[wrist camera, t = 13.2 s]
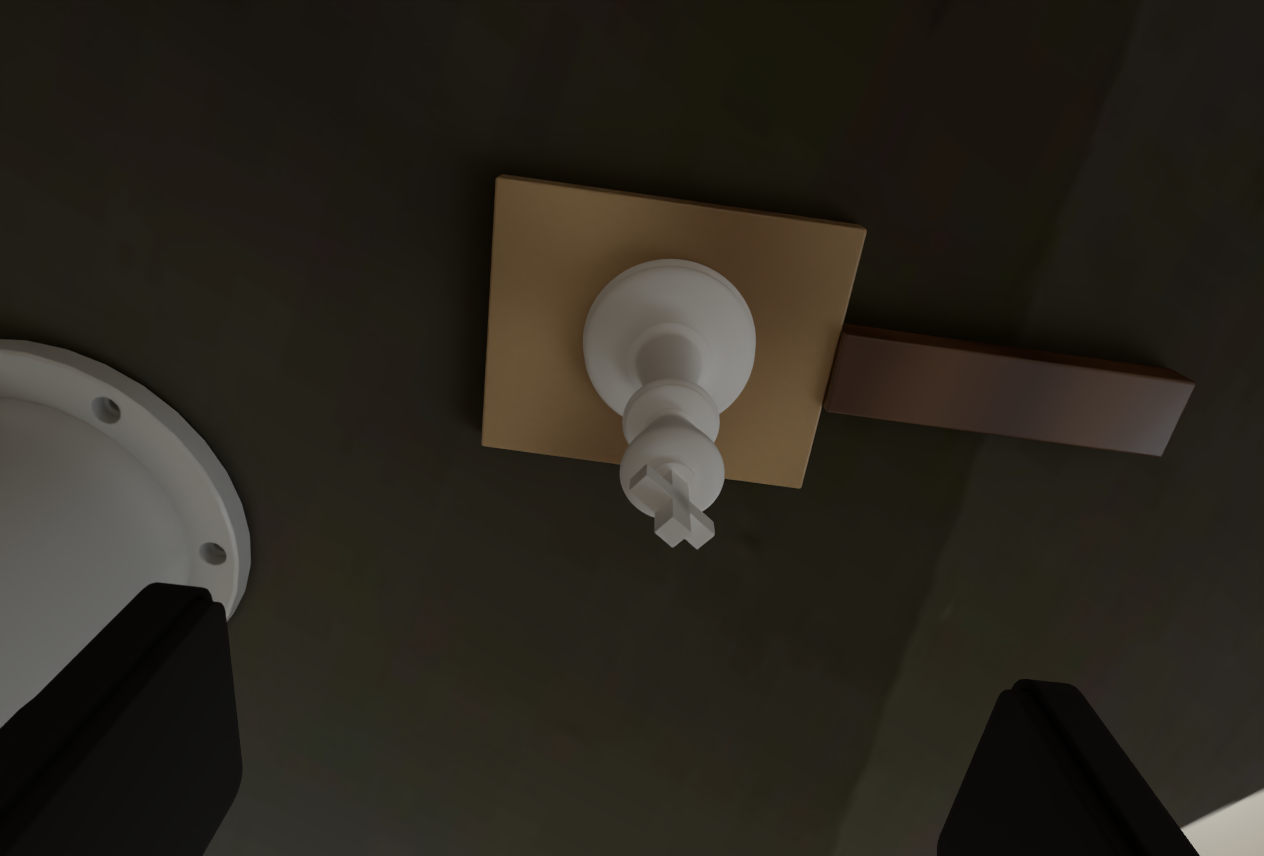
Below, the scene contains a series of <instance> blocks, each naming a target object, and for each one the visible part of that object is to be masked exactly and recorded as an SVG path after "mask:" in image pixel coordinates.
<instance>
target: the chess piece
mask: <svg viewBox="0 0 1264 856" xmlns="http://www.w3.org/2000/svg"><path fill="white" fill-rule="evenodd" d="M755 349H756V333H755V326H754V322H753V318H752V315H751V312H750V310H749V307H748V305H747V303H746V302H745V300H744V298H743V297H742V295H741V294H740V293H739V291H738V290H737V289H736V288H735V287H734V286H733V284H732V283H730V282H729V281H728V280H727V279H726V278H725V277H723V276H722V275H721V274H719V273H718V272H716V271H714V270H712V269H711V268H709V267H706V266H704V265H702V264H699V263H696V262H692V261H687V260H681V259H659V260H653V261H648V262H645V263H641V264H639V265H636V266H634V267H631V268H629V269H627V270H626V271H624V272H622V273H621V274H619V275H618V276H616V277H615V278H614V279H613V280H611V281H610V282H609V283H608V284H607V285H606V286H605V287H604V288H603V290H602V291H601V292H600V293H599V295H598V296H597V297H596V299H595V301H594V302H593V304H592V306H591V308H590V310H589V313H588V315H587V318H586V322H585V326H584V332H583V353H584V359H585V365H586V369H587V372H588V375H589V378H590V380H591V382H592V384H593V386H594V388H595V390H596V391H597V393H598V394H599V396H600V397H601V398H602V399H603V401H604V402H605V403H606V404H607V405H608V406H609V407H610V408H611V409H613V410H614V411H615V412H616V413H618V414H619V415H621V416H622V417H623V419H622V426H623V432H624V436H625V438H626V441H627V442H628V444H629V446H628V447H627V449H626V451H625V453H624V455H623V457H622V460H621V464H620V481H621V485H622V488H623V491H624V493H625V494H626V496H627V498H628V499H629V500H630V502H631V503H632V504H633V505H634V506H635V507H636V508H638V509H639V510H640V511H642V512H644V513H645V514H647V515H649V516H652V517H655V531H654V532H655V533H656V534H657V535H658V536H659V537H661V538H662V539H663V540H664V541H665V542H666V543H668V544H669V545H670V546H671V547H672V548H673V547H675V546H676V545H677V544H678V543H679V542H681V541H682V540H683V539H686V540H687V541H688V542H689V543H690V544H691V545H693V546H694V547H695V548H696V549H698V548H700V547H701V546H702V545H703V544H704V543H706V542H707V541H708V540H709V539H711V538H712V537H713V536H714V535H715V531H714V522H713V521H712V520H711V519H710V518H708V517H707V516H706V515H705V514H704V513H703V512H702V511H704V510H705V509H707V508H708V507H709V506H710V505H711V504H712V503H713V502H714V501H715V499H716V498H717V497H718V495H719V493H720V491H721V489H722V486H723V483H724V476H725V469H724V463H723V459H722V456H721V454H720V452H719V450H718V448H717V447H716V445H715V444H714V442H715V440H716V438H717V435H718V432H719V426H720V418H719V414H720V413H722V412H723V411H724V410H725V409H727V408H728V407H729V406H730V405H731V404H732V403H733V402H734V401H735V400H736V398H737V397H738V396H739V395H740V393H741V392H742V390H743V389H744V387H745V385H746V383H747V381H748V379H749V377H750V374H751V371H752V368H753V364H754V358H755Z"/></svg>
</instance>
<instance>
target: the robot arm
mask: <svg viewBox="0 0 1264 856" xmlns="http://www.w3.org/2000/svg"><path fill="white" fill-rule="evenodd" d="M250 565H251V553H250V533H249V529H248V526H247V522H246V518H245V514H244V510H243V506H242V503H241V501H240V499H239V497H238V494H237V492H236V490H235V488H234V486H233V484H232V482H231V480H230V478H229V476H228V473H227V472H226V470H225V469H224V467H223V466H222V464H221V463H220V462H219V460H218V459H217V457H216V456H215V454H214V453H213V452H212V450H211V449H210V447H209V446H208V444H207V443H206V442H205V440H204V439H203V438H202V437H201V436H200V435H199V434H198V433H197V432H196V431H195V430H194V429H193V428H192V427H191V426H190V425H189V424H188V423H187V422H186V421H185V420H184V419H183V418H182V417H181V415H180V414H179V413H178V412H177V411H175V410H174V409H173V408H171V407H170V406H169V405H168V404H166V403H165V402H164V401H162V400H161V399H160V398H158V397H157V396H156V395H155V394H153V393H152V392H151V391H149V390H148V389H147V388H146V387H144V386H143V385H141V384H139V383H138V382H136V381H134V380H132V379H130V378H129V377H127V376H125V375H123V374H122V373H120V372H118V371H116V370H115V369H113V368H111V367H109V366H108V365H106V364H103V363H101V362H98V361H95V360H93V359H90V358H88V357H85V356H83V355H80V354H77V353H75V352H72V351H70V350H67V349H63V348H59V347H54V346H50V345H45V344H41V343H36V342H31V341H27V340H8V339H0V856H202V855H203V854H204V852H205V850H206V848H207V847H208V845H209V843H210V841H211V840H212V838H213V836H214V834H215V833H216V831H217V829H218V827H219V826H220V824H221V822H222V821H223V819H224V817H225V815H226V814H227V812H228V810H229V808H230V807H231V805H232V803H233V801H234V799H235V797H236V795H237V792H238V789H239V786H240V782H241V778H242V757H241V748H240V739H239V730H238V721H237V711H236V702H235V693H234V684H233V674H232V665H231V656H230V647H229V638H228V628H227V621H228V620H229V619H230V617H231V616H232V615H233V614H234V612H235V610H236V608H237V606H238V604H239V602H240V600H241V598H242V596H243V594H244V592H245V590H246V585H247V580H248V575H249V570H250ZM937 856H1199V854H1198V853H1197V851H1196V850H1195V849H1194V847H1193V846H1192V844H1191V843H1190V842H1189V840H1188V839H1187V837H1186V836H1185V835H1184V833H1183V832H1182V831H1181V829H1180V828H1179V826H1178V825H1177V824H1176V822H1175V821H1174V820H1173V818H1172V817H1171V816H1170V814H1169V813H1168V811H1167V810H1166V809H1165V807H1164V806H1163V805H1162V803H1161V802H1160V800H1159V799H1158V798H1157V796H1156V795H1155V794H1154V792H1153V791H1152V789H1151V788H1150V787H1149V785H1148V784H1147V783H1146V781H1145V780H1144V778H1143V777H1142V776H1141V774H1140V773H1139V772H1138V770H1137V769H1136V767H1135V766H1134V765H1133V763H1132V762H1131V761H1130V759H1129V758H1128V756H1127V755H1126V754H1125V752H1124V751H1123V750H1122V748H1121V747H1120V745H1119V744H1118V743H1117V741H1116V740H1115V739H1114V737H1113V736H1112V734H1111V733H1110V732H1109V730H1108V729H1107V728H1106V726H1105V725H1104V723H1103V722H1102V721H1101V719H1100V718H1099V717H1098V715H1097V714H1096V712H1095V711H1094V710H1093V708H1092V707H1091V706H1090V704H1089V703H1088V701H1087V700H1086V699H1085V697H1084V696H1083V695H1082V693H1081V692H1080V691H1079V690H1078V689H1077V688H1076V687H1074V686H1072V685H1070V684H1066V683H1057V682H1048V681H1039V680H1030V679H1021V680H1019V681H1018V682H1016V683H1015V684H1014V686H1013V687H1012V689H1011V690H1004V691H1003V692H1001V694H1000V695H999V697H998V699H997V701H996V704H995V706H994V709H993V711H992V713H991V716H990V718H989V720H988V723H987V725H986V727H985V730H984V732H983V735H982V737H981V739H980V742H979V744H978V746H977V749H976V751H975V753H974V756H973V758H972V761H971V763H970V765H969V768H968V770H967V772H966V775H965V777H964V780H963V782H962V784H961V787H960V789H959V791H958V794H957V796H956V798H955V801H954V803H953V806H952V808H951V810H950V813H949V815H948V817H947V820H946V822H945V824H944V827H943V829H942V832H941V834H940V836H939V840H938V845H937Z"/></svg>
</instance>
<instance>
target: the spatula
mask: <svg viewBox="0 0 1264 856" xmlns="http://www.w3.org/2000/svg"><path fill="white" fill-rule="evenodd" d="M866 233H867V231H866V229H865V228H863V227H862V226H861V225H859V224H852V223H845V222H838V221H831V220H824V219H817V218H810V217H803V216H796V215H789V214H782V213H774V212H767V211H760V210H753V209H746V208H739V207H732V206H725V205H718V204H711V203H704V202H697V201H689V200H682V199H675V198H668V197H661V196H654V195H647V194H640V193H633V192H626V191H619V190H612V189H605V188H597V187H590V186H583V185H576V184H569V183H562V182H555V181H548V180H541V179H534V178H527V177H520V176H513V175H505V174H502V175H500V176H498V177H497V178H496V180H495V198H494V217H493V236H492V254H491V273H490V291H489V310H488V329H487V347H486V366H485V384H484V403H483V422H482V440H481V444H482V446H487V447H494V448H502V449H509V450H517V451H524V452H532V453H539V454H546V455H554V456H561V457H569V458H576V459H584V460H591V461H599V462H606V463H613V464H621V460H622V457H623V455H624V453H625V451H626V449H627V447H628V446H629V444H628V442H627V441H626V438H625V436H624V432H623V426H622V419H623V417H622V416H621V415H619V414H618V413H616V412H615V411H614V410H613V409H611V408H610V407H609V406H608V405H607V404H606V403H605V402H604V401H603V399H602V398H601V397H600V396H599V394H598V393H597V391H596V390H595V388H594V386H593V384H592V382H591V380H590V378H589V375H588V372H587V369H586V365H585V359H584V353H583V332H584V326H585V322H586V318H587V315H588V313H589V310H590V308H591V306H592V304H593V302H594V301H595V299H596V297H597V296H598V295H599V293H600V292H601V291H602V290H603V288H604V287H605V286H606V285H607V284H608V283H609V282H610V281H611V280H613V279H614V278H615V277H616V276H618V275H619V274H621V273H622V272H624V271H626V270H627V269H629V268H631V267H634V266H636V265H639V264H641V263H645V262H648V261H653V260H659V259H681V260H687V261H692V262H696V263H699V264H702V265H704V266H706V267H709V268H711V269H712V270H714V271H716V272H718V273H719V274H721V275H722V276H723V277H725V278H726V279H727V280H728V281H729V282H730V283H732V284H733V286H734V287H735V288H736V289H737V290H738V291H739V293H740V294H741V295H742V297H743V298H744V300H745V302H746V303H747V305H748V307H749V310H750V312H751V315H752V318H753V322H754V326H755V333H756V349H755V358H754V364H753V368H752V371H751V374H750V377H749V379H748V381H747V383H746V385H745V387H744V389H743V390H742V392H741V393H740V395H739V396H738V397H737V398H736V400H735V401H734V402H733V403H732V404H731V405H730V406H729V407H728V408H727V409H725V410H724V411H723V412H722V413H720V414H719V418H720V426H719V432H718V435H717V438H716V440H715V442H714V444H715V445H716V447H717V448H718V450H719V452H720V454H721V456H722V459H723V463H724V469H725V476H724V478H725V479H732V480H740V481H747V482H755V483H762V484H770V485H777V486H785V487H792V488H801V487H802V483H803V479H804V475H805V471H806V468H807V464H808V460H809V456H810V452H811V448H812V444H813V440H814V436H815V432H816V428H817V425H818V421H819V417H820V413H821V409H822V405H823V406H824V408H825V410H826V411H827V412H832V413H839V414H846V415H854V416H861V417H868V418H876V419H883V420H890V421H898V422H905V423H912V424H920V425H927V426H934V427H942V428H949V429H956V430H964V431H971V432H978V433H986V434H993V435H1000V436H1008V437H1015V438H1022V439H1030V440H1037V441H1044V442H1052V443H1059V444H1066V445H1074V446H1081V447H1088V448H1096V449H1103V450H1110V451H1118V452H1125V453H1132V454H1140V455H1147V456H1154V457H1161V456H1162V455H1163V453H1164V451H1165V449H1166V447H1167V445H1168V442H1169V440H1170V438H1171V436H1172V434H1173V432H1174V430H1175V428H1176V426H1177V423H1178V421H1179V419H1180V417H1181V415H1182V413H1183V411H1184V409H1185V406H1186V404H1187V402H1188V400H1189V398H1190V396H1191V394H1192V392H1193V390H1194V387H1195V384H1196V383H1195V382H1193V381H1192V380H1190V379H1188V378H1186V377H1185V376H1183V375H1181V374H1179V373H1178V372H1176V371H1174V370H1172V369H1168V368H1161V367H1154V366H1147V365H1140V364H1132V363H1125V362H1118V361H1111V360H1104V359H1096V358H1089V357H1082V356H1075V355H1068V354H1060V353H1053V352H1046V351H1039V350H1032V349H1024V348H1017V347H1010V346H1003V345H995V344H988V343H981V342H974V341H967V340H959V339H952V338H945V337H938V336H931V335H923V334H916V333H909V332H902V331H895V330H887V329H880V328H873V327H866V326H859V325H851V324H844V319H845V315H846V311H847V307H848V303H849V299H850V295H851V291H852V288H853V284H854V280H855V276H856V272H857V268H858V264H859V260H860V256H861V252H862V248H863V245H864V241H865V237H866Z"/></svg>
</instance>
